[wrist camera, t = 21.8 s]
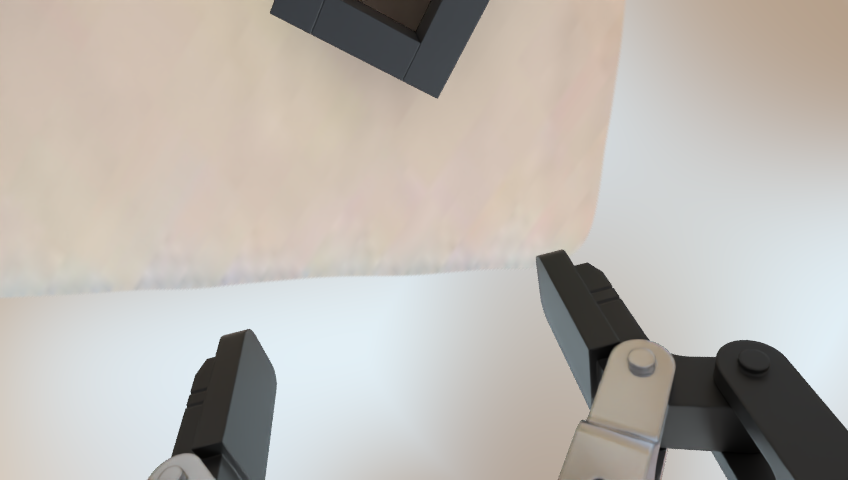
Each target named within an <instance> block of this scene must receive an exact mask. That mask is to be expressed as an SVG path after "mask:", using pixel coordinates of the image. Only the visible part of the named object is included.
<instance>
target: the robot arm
mask: <svg viewBox="0 0 848 480" xmlns="http://www.w3.org/2000/svg"><path fill="white" fill-rule="evenodd" d="M536 265H537V273H538V281H539V289H540V296H541V303H542V307H543V310H544V313H545V316H546V318H547V321H548V323H549V325H550V327H551V329H552V331H553V333H554V335H555V337H556V340H557V342H558V344H559V346H560V348H561V350H562V352H563V354H564V356H565V359H566V361H567V363H568V365H569V367H570V369H571V371H572V373H573V375H574V377H575V380H576V382H577V384H578V386H579V388H580V390H581V392H582V394H583V396H584V398H585V400H586V403H587V405H588V407H589V409H590V413H589V415H588V418H587V420H586V421H585V420H581V421H580V423H579V424H578V426H577V428H576V431H575V434H574V437H573V439H572V442H571V445H570V448H569V450H568V453H567V456H566V459H565V461H564V464H563V467H562V470H561V472H560V475H559V478H558V480H661V479H662V475H663V470H664V466H665V460H666V456H667V452H668V448H672V449H687V450H703V451H712V453H713V455H714V457H715V458H716V460H717V462H718V463H719V465H720V467H721V469H722V470H723V472H724V474H725V476H726V477H727V479H728V480H848V430H847V429H846V428H845V427H844V426H843V424H842V423H841V422H840V421H839V420H838V419H837V417H836V416H835V415H834V414H833V413H832V411H831V410H830V409H829V408H828V407H827V406H826V404H825V403H824V402H823V401H822V400H821V399H820V397H819V396H818V395H817V394H816V393H815V391H814V390H813V389H812V388H811V387H810V385H809V384H808V383H807V382H806V381H805V379H804V378H803V377H802V376H801V375H800V373H799V372H798V371H797V370H796V369H795V368H794V366H793V365H792V364H791V363H790V362H789V361H788V359H787V358H786V357H785V356H784V355H783V354H782V353H781V352H779V351H778V350H776V349H775V348H773V347H771V346H769V345H766V344H764V343H761V342H756V341H750V340H739V341H733V342H730V343H728V344H726V345H724V346H723V347H721V348H720V349H719V351H718V353H717V356H716V357H686V356H679V355H674V354H671V353H670V352H669V351H668V350H667V349H666V348H664V347H663V346H661V345H659V344H657V343H655V342H652V341H650V340H649V339H648V338H647V336H646V335H645V334H644V332H643V331H642V329H641V328H640V326H639V325H638V323H637V322H636V320H635V319H634V317H633V316H632V314H631V313H630V312H629V310H628V309H627V307H626V306H625V304H624V303H623V301H622V300H621V299H620V298H619V295H618V294H617V292H616V291H615V289H614V288H612V285H611V283H610V282H609V281H608V279H607V278H606V276H605V275H604V273H603V272H602V271H600V270H598V269H597V268H595V267H594V266H592V265H591V264H589V263H584V264H580V265H576V266H574V265H573V263H572V262H571V260H570V258H569V257H568V255H567V253H566V252H565V251H564V250H558V251H555V252H551V253H547V254H543V255H539V256H537V257H536ZM276 385H277V382H276V375H275V371H274V368H273V366H272V364H271V362H270V360H269V358H268V357H267V355H266V353H265V351H264V350H263V348H262V346H261V344H260V342H259V341H258V339H257V337H256V335H255V334H254V332H253V331H252V330H250V329H247V330H243V331H240V332H235V333H232V334H228V335H224V336H222V337H221V339H220V342H219V345H218V349H217V352H216V356H215V357H213V358H209V359H207V360H206V361H205V363H204V364H203V365H202V367H201V368H200V370H199V371H198V373H197V374H196V375H195V378H194V382H193V385H192V389H191V395H190V396H189V399H188V402H187V408H186V409H185V412H184V416H183V419H182V422H181V426H180V429H179V433H178V436H177V439H176V443H175V446H174V449H173V453H172V457H171V458H170V459H168V460H166V461H165V462H163V463H162V464H161V465H160V466H158V467H157V468H156V469H155V470H154V471H153V473H152V474H151V476H150V477H149V478H148V480H265V475H266V467H267V458H268V452H269V444H270V435H271V427H272V420H273V412H274V404H275V396H276Z"/></svg>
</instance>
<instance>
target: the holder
mask: <svg viewBox="0 0 848 480" xmlns="http://www.w3.org/2000/svg"><path fill="white" fill-rule="evenodd" d="M488 2H489V0H431V1H430V4H429V6H428V8H427V10H426V12H425V14H424V16H423V18H422V20H421V22H420V24H419V26H418V28H417V31H416V32H415V31H413V30H411V29H409V28H407V27H405V26H404V25H402V24H400V23H398V22H396V21H394V20H392V19H391V18H389V17H387V16H385V15H383V14H381V13H380V12H378V11H376V10H374V9H372V8H370V7H369V6H367V5H365V4H363V3H361V2H359V1H358V0H274V3H273V5H272V8H271V11H270V14H272V15H274V16H276V17H278V18H280V19H282V20H284V21H286V22H288V23H290V24H292V25H294V26H296V27H298V28H300V29H302V30H303V31H305V32H307V33H309V34H311V35H313V36H315V37H317V38H319V39H321V40H323V41H325V42H327V43H329V44H331V45H333V46H335V47H337V48H339V49H341V50H343V51H345V52H347V53H349V54H351V55H352V56H354V57H356V58H358V59H360V60H362V61H364V62H366V63H368V64H370V65H372V66H374V67H376V68H378V69H380V70H382V71H384V72H386V73H388V74H390V75H392V76H394V77H396V78H398V79H400V80H403V81H404V82H406V83H407V84H409V85H411V86H413V87H415V88H417V89H419V90H421V91H423V92H425V93H427V94H429V95H431V96H433V97H435V98H438V97H439V95H440V93H441V91H442V90H443V88H444V86H445V84H446V82H447V80H448V78H449V76H450V74H451V72H452V71H453V69H454V67H455V65H456V63H457V61H458V59H459V57H460V55H461V53H462V52H463V50H464V48H465V46H466V44H467V42H468V40H469V38H470V36H471V34H472V33H473V31H474V29H475V27H476V25H477V23H478V21H479V19H480V17H481V15H482V14H483V12H484V10H485V8H486V6H487V4H488Z"/></svg>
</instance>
